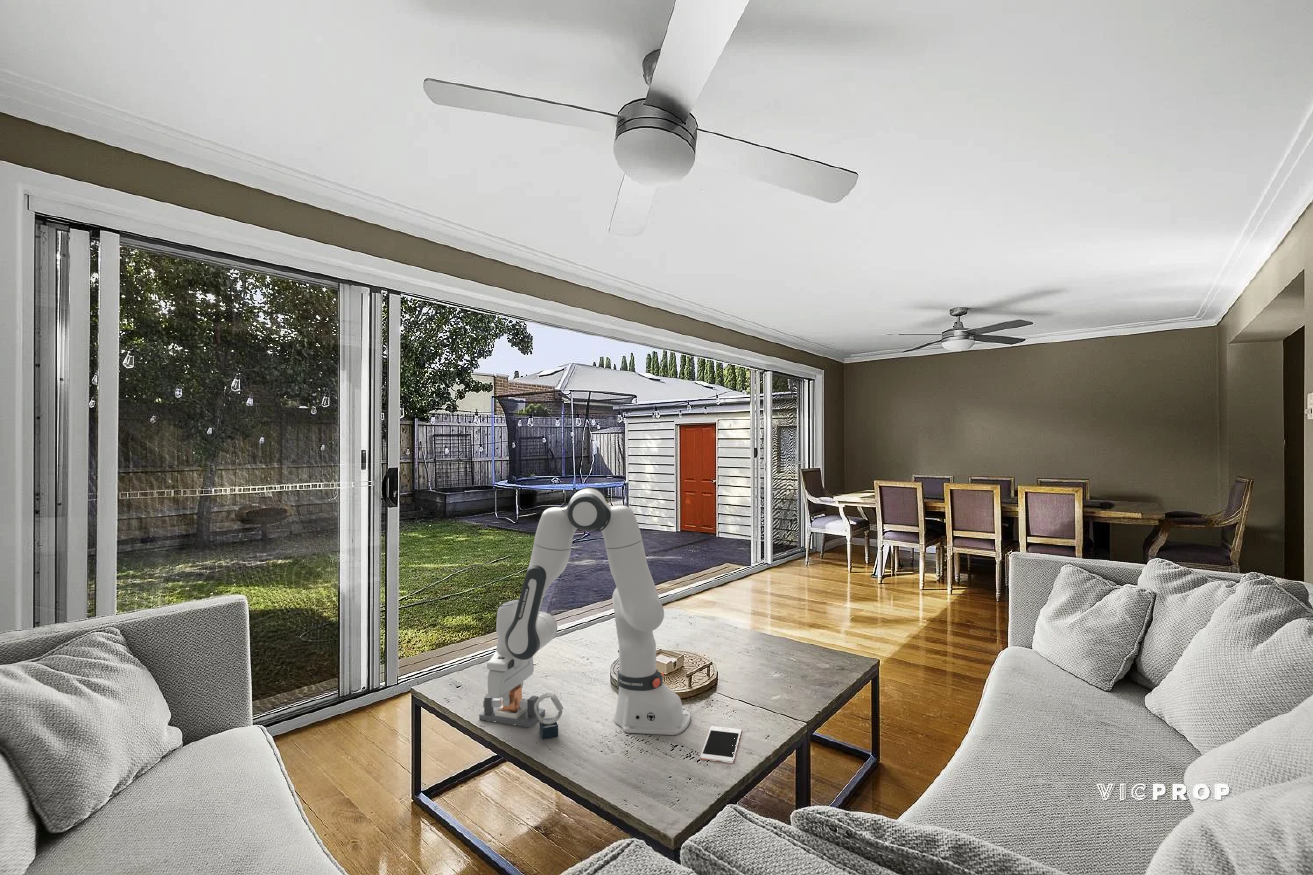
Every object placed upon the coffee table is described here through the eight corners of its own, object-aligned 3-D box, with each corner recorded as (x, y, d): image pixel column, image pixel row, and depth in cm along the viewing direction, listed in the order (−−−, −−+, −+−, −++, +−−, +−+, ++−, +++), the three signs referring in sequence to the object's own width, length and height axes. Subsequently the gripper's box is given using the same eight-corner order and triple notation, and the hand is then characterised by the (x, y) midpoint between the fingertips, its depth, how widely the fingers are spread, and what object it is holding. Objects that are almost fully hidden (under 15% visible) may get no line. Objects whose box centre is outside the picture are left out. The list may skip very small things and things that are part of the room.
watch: (565, 735, 172) (564, 696, 172) (536, 740, 169) (535, 700, 169) (561, 726, 177) (560, 688, 177) (533, 731, 174) (532, 692, 174)
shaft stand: (545, 714, 185) (544, 692, 185) (529, 727, 177) (529, 705, 177) (496, 706, 190) (496, 686, 190) (479, 719, 182) (479, 697, 182)
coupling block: (510, 704, 186) (510, 685, 186) (521, 706, 185) (521, 686, 185) (503, 710, 182) (502, 690, 182) (514, 712, 181) (514, 691, 181)
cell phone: (741, 732, 173) (741, 728, 173) (733, 765, 156) (733, 761, 156) (711, 728, 176) (711, 725, 176) (699, 760, 158) (699, 757, 158)
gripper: (520, 642, 194) (521, 686, 194) (483, 665, 175) (484, 714, 175) (538, 644, 192) (539, 688, 192) (502, 668, 173) (503, 716, 173)
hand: (512, 700), depth 184 cm, fingers open, 4 cm apart
